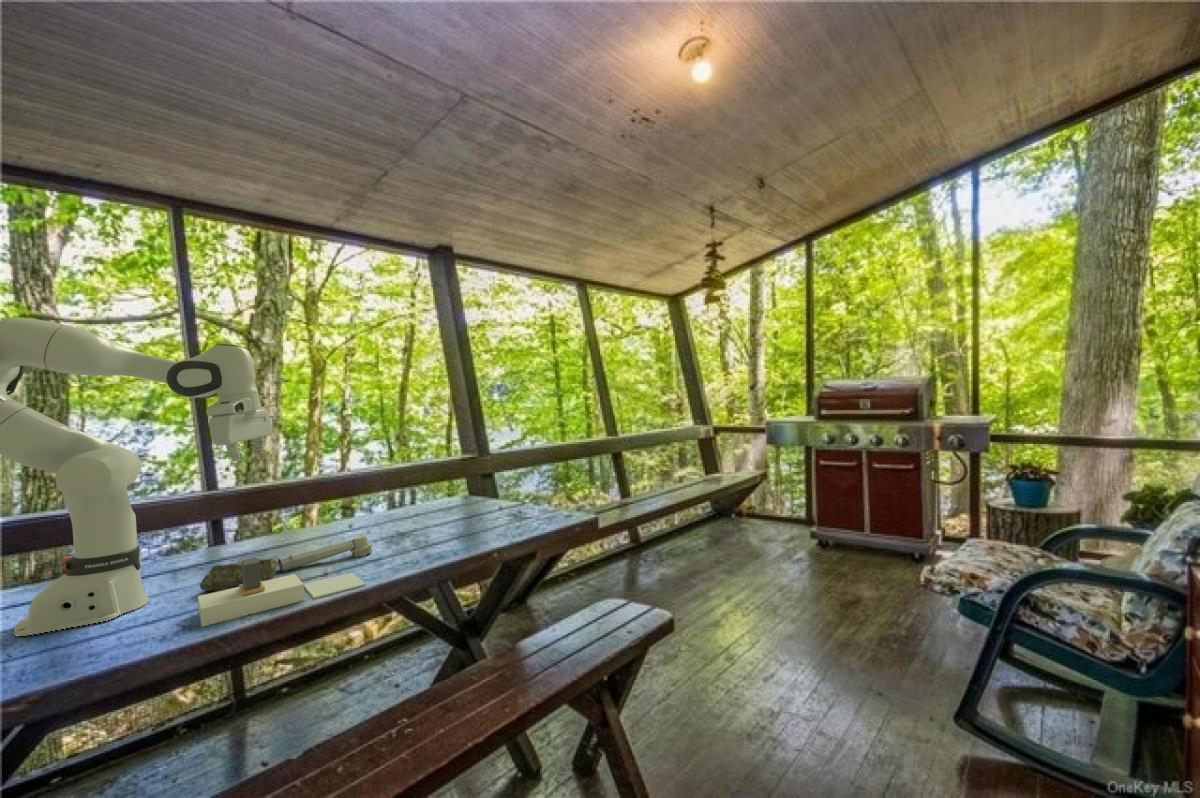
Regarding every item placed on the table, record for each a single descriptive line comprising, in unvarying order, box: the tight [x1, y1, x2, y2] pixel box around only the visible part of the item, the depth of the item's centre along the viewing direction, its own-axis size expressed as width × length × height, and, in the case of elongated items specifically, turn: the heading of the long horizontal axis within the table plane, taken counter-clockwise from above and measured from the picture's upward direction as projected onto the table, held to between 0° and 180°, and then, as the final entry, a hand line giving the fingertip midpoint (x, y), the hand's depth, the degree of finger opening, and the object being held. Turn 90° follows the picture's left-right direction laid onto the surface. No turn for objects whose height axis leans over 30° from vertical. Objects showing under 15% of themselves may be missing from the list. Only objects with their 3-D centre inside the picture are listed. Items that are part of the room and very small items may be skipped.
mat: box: [303, 572, 367, 600], centre depth 136 cm, size 12×12×1 cm
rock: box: [199, 558, 279, 592], centre depth 139 cm, size 17×7×10 cm
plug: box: [239, 557, 265, 596], centre depth 124 cm, size 4×6×11 cm
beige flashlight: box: [277, 534, 373, 573], centre depth 157 cm, size 5×7×25 cm
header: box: [197, 573, 305, 628], centre depth 124 cm, size 20×10×4 cm, turn 131°
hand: (248, 457), depth 137 cm, fingers open, 8 cm apart
